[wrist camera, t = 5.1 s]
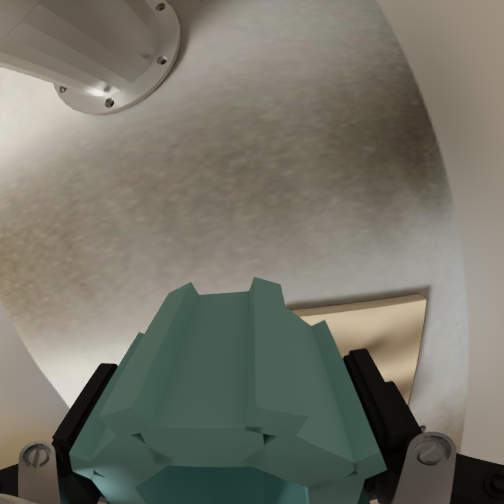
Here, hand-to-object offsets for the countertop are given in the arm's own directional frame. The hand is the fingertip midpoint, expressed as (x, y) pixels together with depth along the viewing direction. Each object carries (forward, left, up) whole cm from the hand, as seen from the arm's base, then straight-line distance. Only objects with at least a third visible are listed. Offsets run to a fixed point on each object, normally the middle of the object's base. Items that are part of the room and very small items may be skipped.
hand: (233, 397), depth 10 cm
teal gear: (0, 0, -2) cm, 2 cm away
